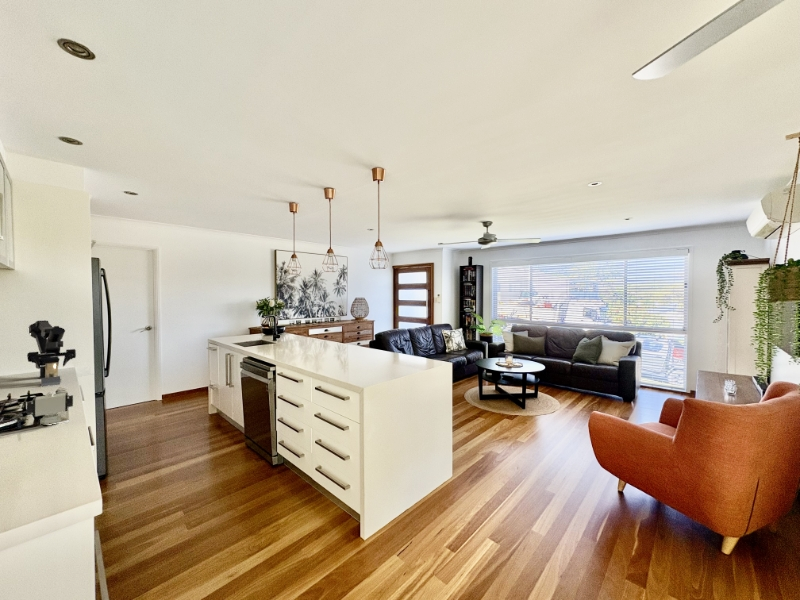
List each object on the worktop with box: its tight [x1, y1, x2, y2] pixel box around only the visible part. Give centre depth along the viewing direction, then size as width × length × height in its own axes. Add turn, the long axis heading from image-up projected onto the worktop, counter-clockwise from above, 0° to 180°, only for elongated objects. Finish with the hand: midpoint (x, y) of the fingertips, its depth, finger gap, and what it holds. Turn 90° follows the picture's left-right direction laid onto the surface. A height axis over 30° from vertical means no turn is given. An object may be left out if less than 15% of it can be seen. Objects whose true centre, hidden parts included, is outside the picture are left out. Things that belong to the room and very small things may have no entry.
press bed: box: [40, 375, 62, 387], centre depth 179 cm, size 9×7×4 cm
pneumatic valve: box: [26, 392, 74, 426], centre depth 122 cm, size 6×12×12 cm, turn 136°
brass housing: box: [44, 362, 59, 378], centre depth 180 cm, size 5×5×10 cm
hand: (51, 367), depth 179 cm, fingers open, 9 cm apart
